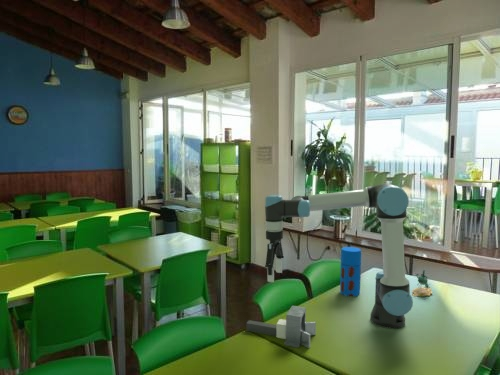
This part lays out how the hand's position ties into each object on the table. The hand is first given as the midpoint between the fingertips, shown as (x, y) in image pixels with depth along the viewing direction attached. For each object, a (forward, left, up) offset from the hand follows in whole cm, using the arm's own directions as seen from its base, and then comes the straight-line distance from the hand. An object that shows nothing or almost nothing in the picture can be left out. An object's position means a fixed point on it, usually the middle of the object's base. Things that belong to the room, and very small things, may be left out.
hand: (275, 276), depth 166 cm
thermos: (-28, -53, -23) cm, 64 cm away
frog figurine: (-66, -68, -23) cm, 98 cm away
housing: (-14, +8, -22) cm, 28 cm away
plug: (+1, +8, -22) cm, 24 cm away
